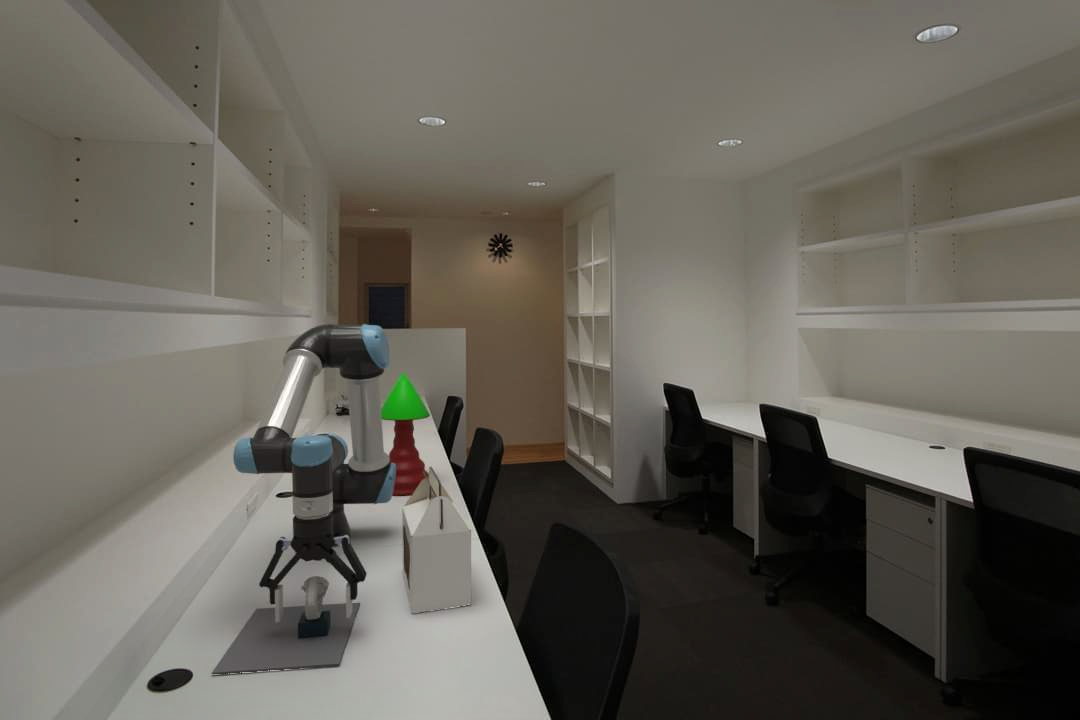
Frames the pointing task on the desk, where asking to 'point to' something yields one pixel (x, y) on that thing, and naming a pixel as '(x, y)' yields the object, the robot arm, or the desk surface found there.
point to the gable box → (435, 549)
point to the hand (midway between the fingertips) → (314, 616)
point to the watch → (314, 609)
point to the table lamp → (405, 435)
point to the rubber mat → (287, 642)
